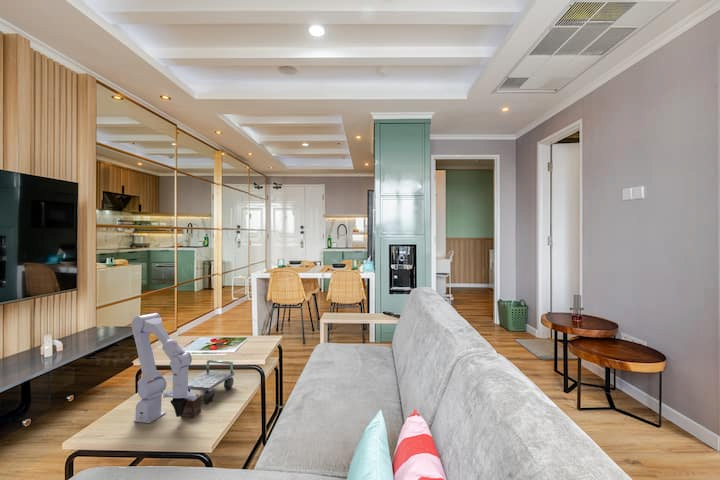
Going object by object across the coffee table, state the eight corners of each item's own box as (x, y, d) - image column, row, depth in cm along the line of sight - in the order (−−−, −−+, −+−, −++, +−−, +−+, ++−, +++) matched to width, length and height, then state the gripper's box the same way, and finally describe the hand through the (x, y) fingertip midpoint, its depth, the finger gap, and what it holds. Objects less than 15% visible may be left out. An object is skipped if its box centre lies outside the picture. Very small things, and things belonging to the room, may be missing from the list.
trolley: (207, 405, 160) (208, 376, 160) (177, 402, 163) (178, 373, 163) (234, 386, 182) (234, 361, 183) (207, 384, 185) (208, 359, 186)
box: (201, 412, 153) (201, 395, 154) (193, 418, 147) (194, 401, 148) (188, 411, 154) (188, 394, 154) (180, 417, 148) (180, 400, 148)
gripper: (201, 380, 147) (201, 412, 146) (172, 378, 149) (171, 409, 149) (190, 386, 140) (189, 420, 139) (159, 384, 143) (158, 417, 142)
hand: (179, 415), depth 144 cm, fingers closed
